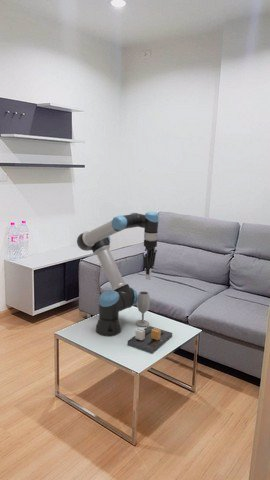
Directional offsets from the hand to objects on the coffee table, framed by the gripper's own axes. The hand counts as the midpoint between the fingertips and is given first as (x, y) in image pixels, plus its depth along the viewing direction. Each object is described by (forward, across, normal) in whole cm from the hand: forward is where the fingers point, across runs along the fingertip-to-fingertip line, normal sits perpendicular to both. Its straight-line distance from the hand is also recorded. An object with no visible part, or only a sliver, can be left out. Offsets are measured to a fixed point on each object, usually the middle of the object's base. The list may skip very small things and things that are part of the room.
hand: (148, 279), depth 210 cm
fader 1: (+31, -12, -4) cm, 34 cm away
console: (+34, -6, -7) cm, 35 cm away
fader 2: (+31, -7, -11) cm, 34 cm away
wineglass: (+34, +10, +8) cm, 37 cm away
